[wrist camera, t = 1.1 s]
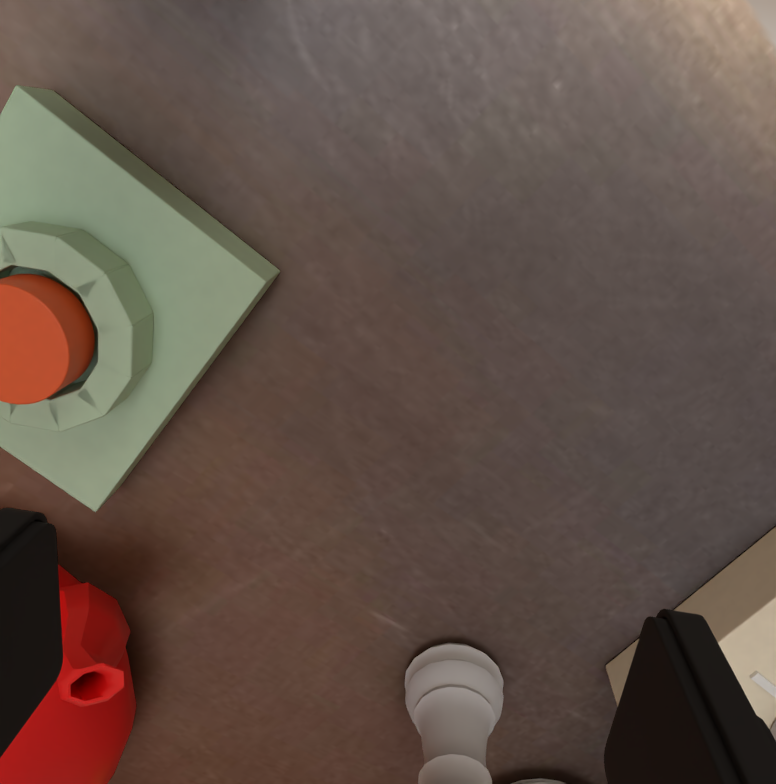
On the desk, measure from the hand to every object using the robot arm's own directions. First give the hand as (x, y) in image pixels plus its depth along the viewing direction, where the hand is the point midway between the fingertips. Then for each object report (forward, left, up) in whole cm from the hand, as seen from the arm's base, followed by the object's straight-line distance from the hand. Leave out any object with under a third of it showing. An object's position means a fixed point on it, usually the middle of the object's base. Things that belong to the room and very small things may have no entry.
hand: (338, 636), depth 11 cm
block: (+7, -10, -17) cm, 21 cm away
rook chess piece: (+11, +12, -17) cm, 23 cm away
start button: (+7, -10, -13) cm, 18 cm away
